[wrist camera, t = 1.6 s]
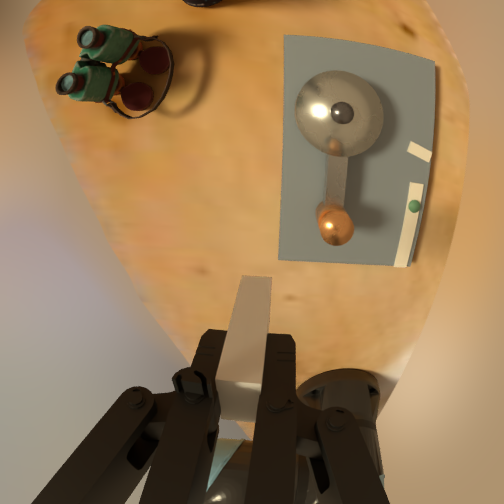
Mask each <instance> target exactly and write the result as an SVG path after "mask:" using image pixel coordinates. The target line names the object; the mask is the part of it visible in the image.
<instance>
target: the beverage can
mask: <svg viewBox="0 0 504 504" xmlns="http://www.w3.org/2000/svg"><path fill="white" fill-rule="evenodd" d="M183 1H184V2H185V3H186V4H188V5H190V6H194V7H207V6H211V5H214V4H216V3H218V2H220V1H222V0H183Z"/></svg>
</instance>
